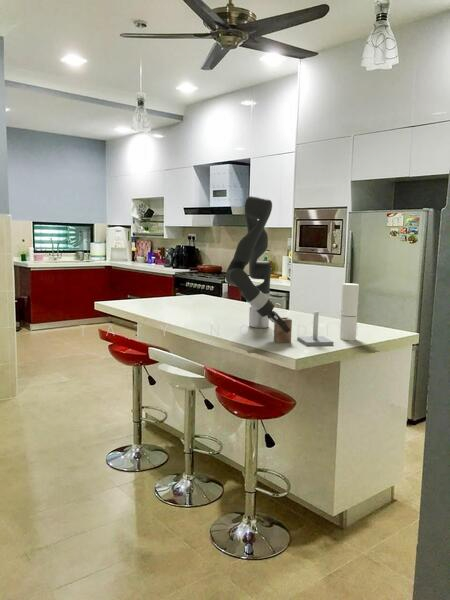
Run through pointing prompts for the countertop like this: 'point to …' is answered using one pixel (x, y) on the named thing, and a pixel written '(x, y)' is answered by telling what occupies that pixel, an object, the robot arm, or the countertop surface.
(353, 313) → the cylindrical container
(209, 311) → the countertop surface
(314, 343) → the post stand
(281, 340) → the collar
